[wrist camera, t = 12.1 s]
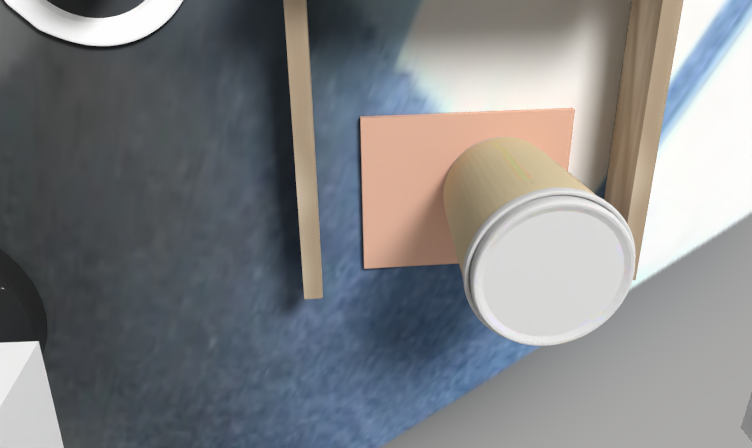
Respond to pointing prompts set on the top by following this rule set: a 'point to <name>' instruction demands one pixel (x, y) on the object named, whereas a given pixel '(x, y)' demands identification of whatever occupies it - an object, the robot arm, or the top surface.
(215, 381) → the top surface
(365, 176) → the front mat
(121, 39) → the candle holder
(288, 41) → the bay
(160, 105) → the top surface
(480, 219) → the coffee cup
